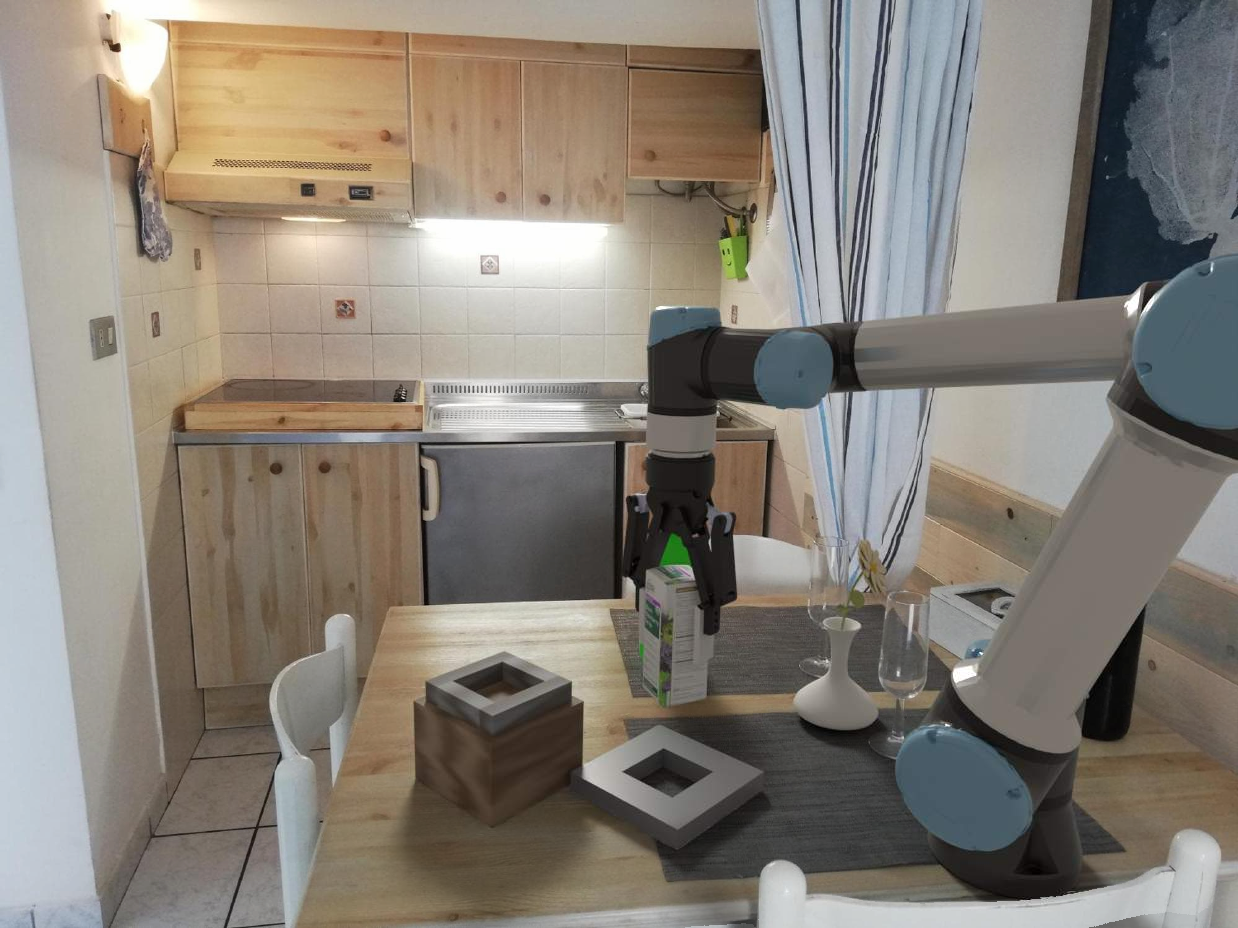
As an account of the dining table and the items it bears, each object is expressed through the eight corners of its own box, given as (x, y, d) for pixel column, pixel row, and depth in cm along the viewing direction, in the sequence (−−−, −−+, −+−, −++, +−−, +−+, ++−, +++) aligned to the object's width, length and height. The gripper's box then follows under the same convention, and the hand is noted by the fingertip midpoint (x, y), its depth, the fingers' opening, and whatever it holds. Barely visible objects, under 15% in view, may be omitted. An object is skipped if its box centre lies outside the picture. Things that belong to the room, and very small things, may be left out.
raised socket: (582, 777, 112) (584, 681, 109) (491, 827, 102) (491, 722, 99) (505, 736, 121) (505, 646, 118) (415, 778, 111) (413, 680, 108)
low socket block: (762, 790, 110) (763, 771, 109) (677, 850, 98) (678, 829, 98) (658, 742, 120) (659, 724, 120) (570, 791, 109) (570, 771, 108)
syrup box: (640, 687, 108) (642, 568, 105) (686, 679, 110) (689, 561, 107) (662, 708, 103) (664, 583, 100) (709, 699, 105) (713, 577, 102)
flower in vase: (842, 747, 120) (857, 563, 115) (775, 714, 129) (786, 540, 123) (901, 718, 128) (918, 544, 123) (834, 688, 137) (847, 524, 132)
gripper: (779, 459, 97) (769, 665, 101) (634, 434, 110) (630, 617, 115) (737, 469, 91) (728, 687, 96) (589, 442, 105) (588, 634, 109)
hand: (675, 649), depth 105 cm, fingers closed on syrup box, 7 cm apart
